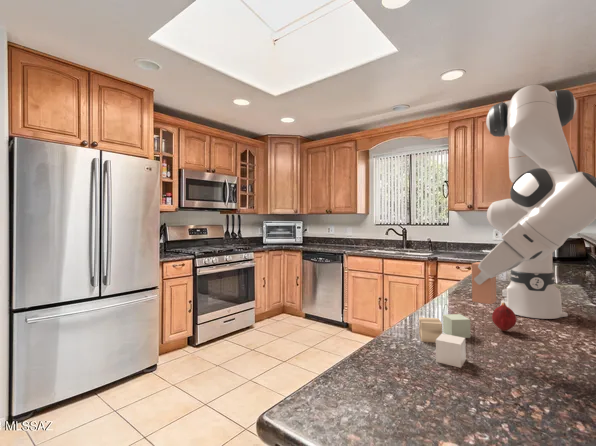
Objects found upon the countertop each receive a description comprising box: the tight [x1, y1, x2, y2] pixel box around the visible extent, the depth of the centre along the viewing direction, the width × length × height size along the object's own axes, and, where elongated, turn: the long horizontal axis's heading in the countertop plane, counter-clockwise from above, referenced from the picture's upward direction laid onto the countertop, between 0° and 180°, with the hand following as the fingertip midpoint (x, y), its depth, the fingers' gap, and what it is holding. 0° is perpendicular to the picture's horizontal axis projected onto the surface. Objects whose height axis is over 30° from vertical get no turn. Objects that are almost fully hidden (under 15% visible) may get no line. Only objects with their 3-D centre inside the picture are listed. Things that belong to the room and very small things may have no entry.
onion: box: [491, 303, 517, 332], centre depth 91 cm, size 6×6×8 cm
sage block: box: [442, 313, 471, 339], centre depth 88 cm, size 5×5×5 cm
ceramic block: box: [435, 333, 467, 369], centre depth 72 cm, size 5×5×5 cm
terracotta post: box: [471, 261, 497, 305], centre depth 76 cm, size 4×4×9 cm
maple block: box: [418, 316, 443, 344], centre depth 85 cm, size 5×5×5 cm
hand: (480, 280), depth 77 cm, fingers closed on terracotta post, 4 cm apart
